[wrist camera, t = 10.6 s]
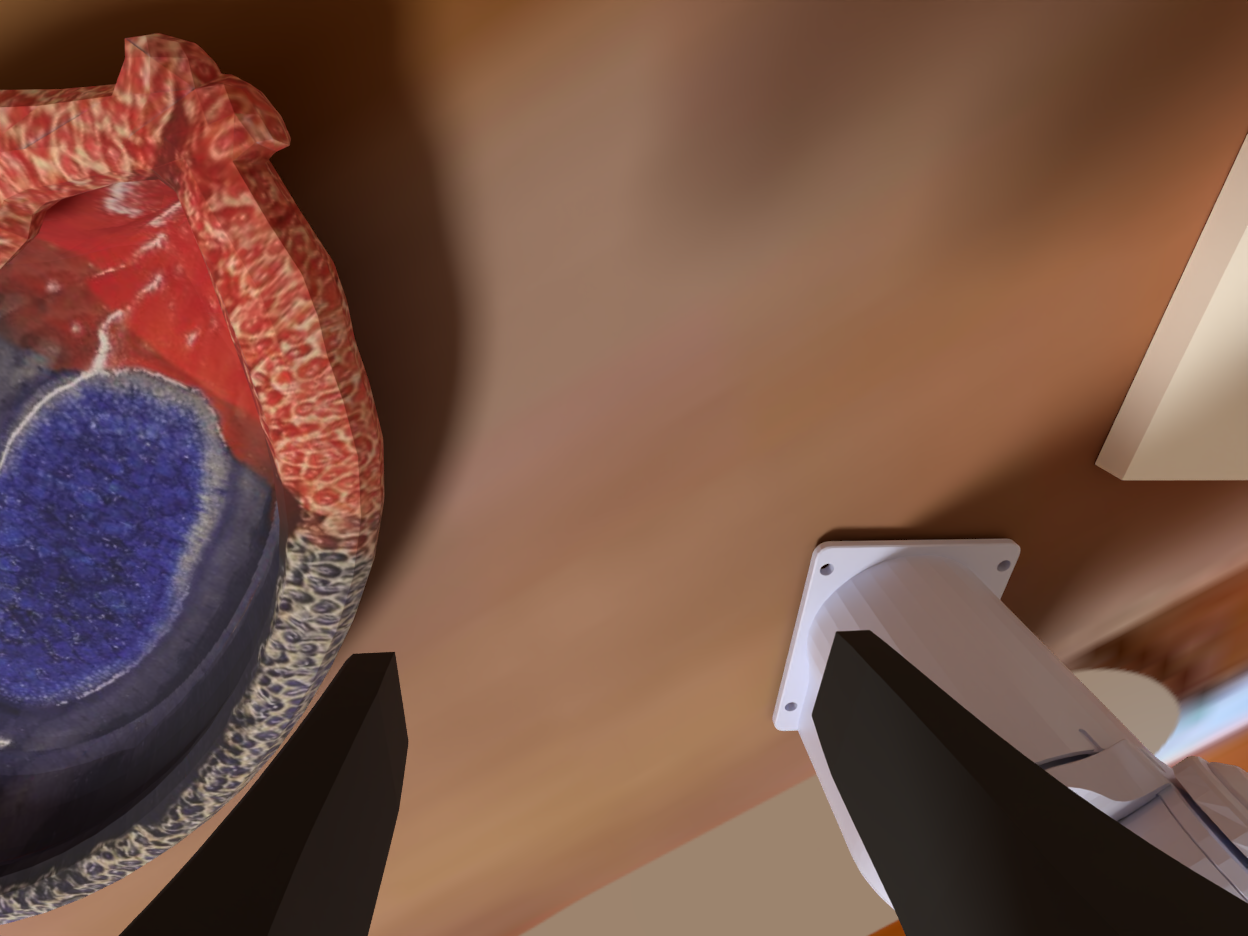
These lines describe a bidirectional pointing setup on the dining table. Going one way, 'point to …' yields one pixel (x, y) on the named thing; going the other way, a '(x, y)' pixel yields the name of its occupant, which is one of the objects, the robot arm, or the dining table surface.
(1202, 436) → the holder board
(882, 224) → the dining table surface
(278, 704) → the dish
